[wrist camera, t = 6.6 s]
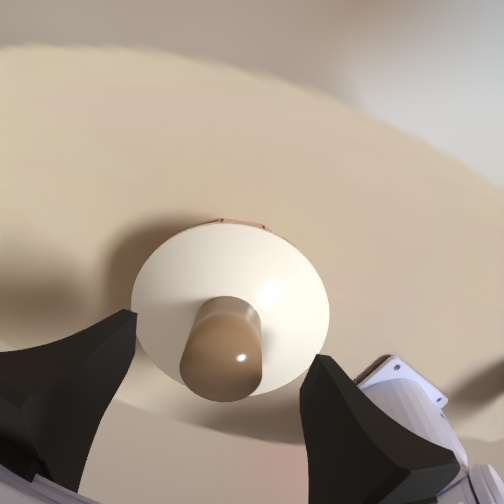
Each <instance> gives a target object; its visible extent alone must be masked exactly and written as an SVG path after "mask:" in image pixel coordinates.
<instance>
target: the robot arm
mask: <svg viewBox="0 0 504 504" xmlns="http://www.w3.org/2000/svg"><path fill="white" fill-rule="evenodd" d="M137 315H138V313H136V312H132V311H129V310H126V309H122V310H120V311H118V312H117V313H115V314H113V315H111V316H109V317H108V318H106V319H104V320H102V321H100V322H98V323H96V324H94V325H93V326H91V327H89V328H87V329H84V330H82V331H80V332H78V333H76V334H73V335H71V336H69V337H66V338H64V339H61V340H58V341H55V342H52V343H49V344H45V345H41V346H37V347H33V348H28V349H23V350H16V351H8V352H0V504H102V503H99V502H97V501H94V500H91V499H89V498H87V497H84V496H82V495H79V494H77V493H78V488H79V485H80V481H81V477H82V473H83V470H84V467H85V463H86V460H87V457H88V454H89V450H90V448H91V445H92V442H93V439H94V436H95V434H96V431H97V429H98V426H99V424H100V421H101V419H102V417H103V415H104V412H105V411H106V409H107V407H108V405H109V404H110V402H111V400H112V398H113V397H114V395H115V393H116V391H117V390H118V388H119V386H120V384H121V383H122V381H123V379H124V377H125V375H126V374H127V372H128V369H129V367H130V364H131V362H132V359H133V357H134V354H135V343H136V327H137ZM396 365H397V366H396ZM395 366H396V367H395ZM447 403H448V398H447V397H446V396H445V395H444V394H442V393H441V392H440V391H439V390H437V389H436V388H435V387H434V386H433V385H431V384H430V383H429V382H428V381H426V380H425V379H424V378H423V377H421V376H420V375H419V374H418V373H417V372H415V371H414V370H413V369H412V368H410V367H409V366H408V365H407V364H405V363H404V362H403V361H402V360H400V359H399V358H398V357H397V356H391V357H389V358H388V359H387V360H385V361H384V362H383V363H382V364H381V365H380V366H379V367H378V368H377V369H375V370H374V371H373V372H372V373H371V374H370V375H369V376H367V377H366V378H365V379H364V380H363V381H362V382H360V383H359V384H358V385H357V386H356V384H355V383H354V382H353V381H352V380H351V379H350V378H349V377H348V375H347V374H346V373H345V372H344V371H343V370H342V368H341V367H340V366H339V365H338V364H337V363H336V362H335V361H334V360H333V359H332V358H331V357H330V356H327V355H320V354H316V355H315V358H314V360H313V362H312V364H311V366H310V369H309V371H308V373H307V375H306V377H305V379H304V382H303V384H302V386H301V388H300V414H301V420H302V426H303V432H304V438H305V444H306V450H307V457H308V474H309V500H308V504H504V484H503V482H502V481H501V479H500V477H499V476H498V475H497V473H496V472H495V470H494V469H493V468H492V466H491V465H489V464H481V463H475V464H474V465H473V466H471V467H468V466H467V456H466V453H465V451H464V449H463V447H462V446H461V444H460V442H459V440H458V438H457V437H456V435H455V433H454V431H453V430H452V428H451V426H450V424H449V423H448V421H447V419H446V417H445V416H444V414H443V412H442V411H441V408H443V407H444V406H445V405H446V404H447Z"/></svg>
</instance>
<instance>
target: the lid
mask: <svg viewBox="0 0 504 504" xmlns="http://www.w3.org/2000/svg"><path fill="white" fill-rule="evenodd" d="M131 311H132V312H136V313H138V315H137V327H136V335H137V338H138V340H139V342H140V344H141V346H142V348H143V349H144V351H145V352H146V354H147V355H148V356H149V358H150V359H151V360H152V361H153V362H154V363H155V365H156V366H157V367H158V368H160V369H161V370H162V371H163V372H164V373H165V374H167V375H168V376H169V377H171V378H172V379H174V380H175V381H177V382H179V383H181V384H182V385H184V386H186V387H188V388H189V389H190V390H191V391H193V392H194V393H195V394H197V395H199V396H201V397H203V398H205V399H208V400H212V401H217V402H232V401H237V400H241V399H243V398H246V397H247V396H254V395H259V394H263V393H266V392H269V391H273V390H275V389H277V388H279V387H282V386H284V385H285V384H287V383H289V382H291V381H292V380H294V379H295V378H296V377H298V376H299V375H300V374H301V373H303V372H304V371H305V370H306V369H307V368H308V367H309V366H310V364H311V363H312V362H313V360H314V358H315V355H316V354H318V353H319V351H320V350H321V348H322V346H323V343H324V341H325V338H326V334H327V330H328V325H329V304H328V299H327V295H326V291H325V289H324V286H323V284H322V281H321V279H320V277H319V275H318V273H317V272H316V270H315V268H314V267H313V265H312V264H311V262H310V261H309V260H308V259H307V257H306V256H305V255H304V254H303V253H302V252H301V251H300V250H299V249H298V248H297V247H296V246H295V245H293V244H292V243H290V242H289V241H288V240H286V239H285V238H283V237H281V236H279V235H278V234H276V233H274V232H272V231H269V230H267V229H264V228H261V227H259V226H255V225H250V224H246V223H238V222H213V223H207V224H201V225H198V226H195V227H192V228H188V229H186V230H184V231H182V232H180V233H178V234H176V235H174V236H173V237H171V238H170V239H168V240H167V241H165V242H164V243H163V244H162V245H161V246H160V247H159V248H157V249H156V250H155V251H154V252H153V253H152V254H151V256H150V257H149V258H148V259H147V261H146V262H145V263H144V265H143V266H142V268H141V270H140V272H139V273H138V275H137V278H136V281H135V283H134V286H133V291H132V296H131Z"/></svg>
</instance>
